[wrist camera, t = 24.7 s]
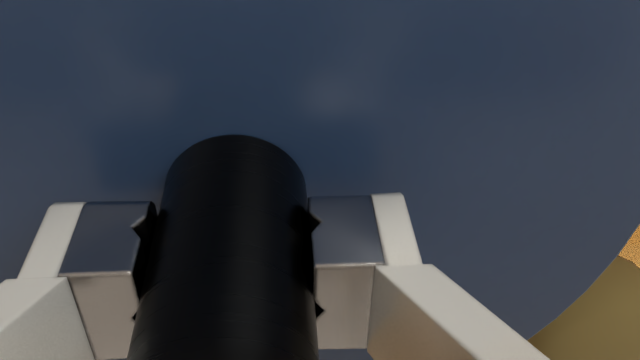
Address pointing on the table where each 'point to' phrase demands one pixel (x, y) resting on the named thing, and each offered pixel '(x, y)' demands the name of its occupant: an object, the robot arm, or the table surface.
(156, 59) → the pot lid
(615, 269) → the brown pawn piece
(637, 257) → the table surface
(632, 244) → the table surface
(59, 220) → the robot arm
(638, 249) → the table surface
